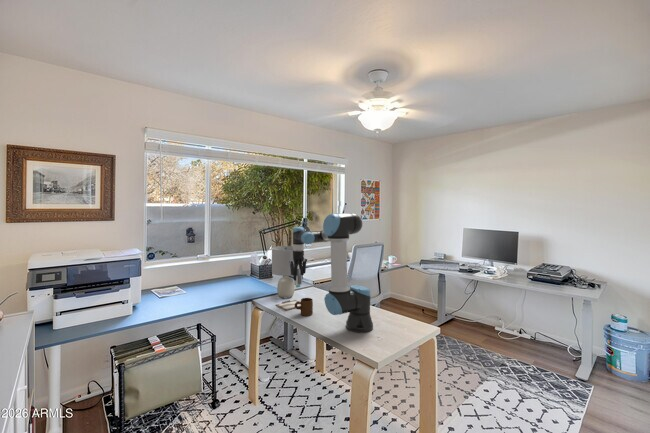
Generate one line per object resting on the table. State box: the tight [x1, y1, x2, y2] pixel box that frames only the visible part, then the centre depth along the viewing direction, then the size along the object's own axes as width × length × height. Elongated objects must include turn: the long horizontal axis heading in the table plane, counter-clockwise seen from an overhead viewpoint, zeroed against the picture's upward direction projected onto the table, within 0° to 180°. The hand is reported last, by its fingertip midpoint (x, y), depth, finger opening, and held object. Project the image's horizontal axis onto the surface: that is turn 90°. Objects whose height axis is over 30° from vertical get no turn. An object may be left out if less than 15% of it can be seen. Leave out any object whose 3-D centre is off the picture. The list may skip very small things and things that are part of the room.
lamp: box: [271, 245, 299, 299], centre depth 231 cm, size 20×20×37 cm
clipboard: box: [275, 299, 301, 312], centre depth 212 cm, size 13×16×1 cm
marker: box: [295, 269, 301, 288], centre depth 212 cm, size 3×3×12 cm
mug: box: [295, 297, 314, 317], centre depth 196 cm, size 12×8×9 cm, turn 121°
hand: (298, 284), depth 212 cm, fingers closed on marker, 3 cm apart
